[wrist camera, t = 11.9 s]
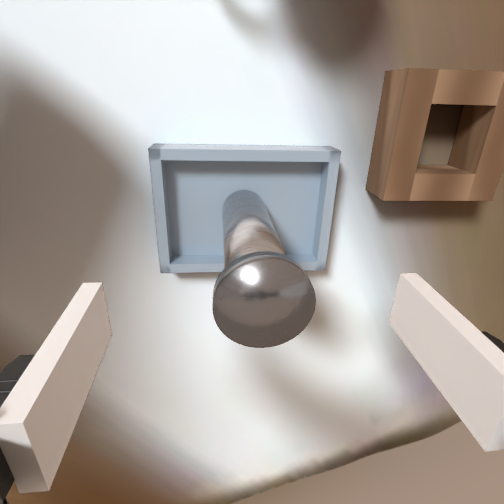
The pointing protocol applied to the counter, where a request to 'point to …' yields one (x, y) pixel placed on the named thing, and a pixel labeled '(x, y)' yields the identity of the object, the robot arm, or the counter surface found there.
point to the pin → (258, 279)
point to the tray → (234, 179)
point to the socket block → (413, 129)
